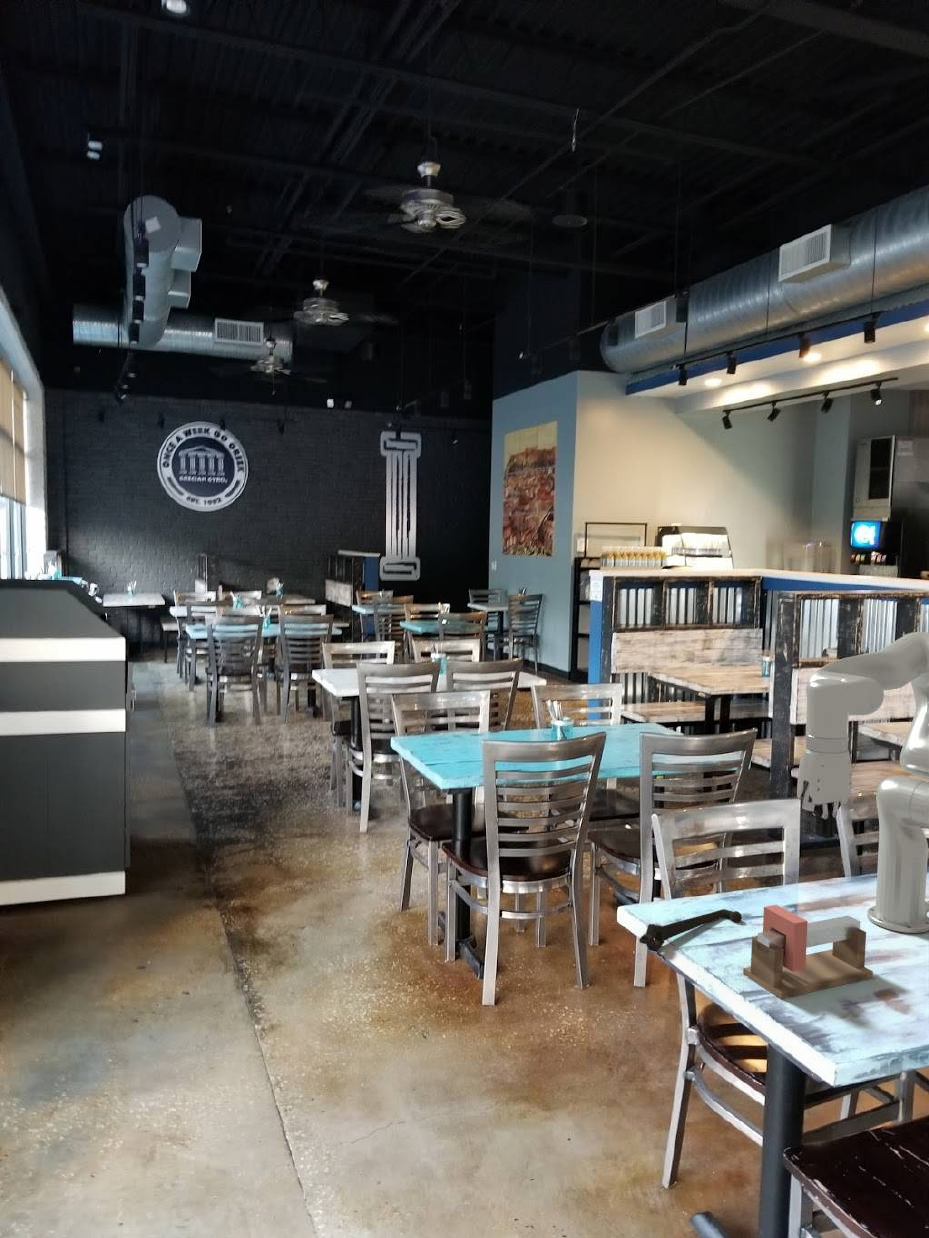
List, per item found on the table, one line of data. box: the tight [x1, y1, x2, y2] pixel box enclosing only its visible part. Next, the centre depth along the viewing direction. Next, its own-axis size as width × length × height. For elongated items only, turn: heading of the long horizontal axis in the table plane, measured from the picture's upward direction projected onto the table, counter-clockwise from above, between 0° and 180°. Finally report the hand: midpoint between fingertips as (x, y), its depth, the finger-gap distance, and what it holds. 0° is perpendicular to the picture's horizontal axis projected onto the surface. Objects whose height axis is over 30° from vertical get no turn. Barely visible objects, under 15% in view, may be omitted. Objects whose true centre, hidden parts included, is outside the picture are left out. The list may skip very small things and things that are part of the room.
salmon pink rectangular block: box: [762, 904, 809, 972], centre depth 168 cm, size 3×8×9 cm, turn 23°
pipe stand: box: [742, 928, 874, 1000], centre depth 170 cm, size 22×10×8 cm, turn 113°
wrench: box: [638, 908, 743, 952], centre depth 187 cm, size 5×5×30 cm
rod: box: [757, 915, 861, 953], centre depth 170 cm, size 22×3×3 cm, turn 113°
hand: (824, 835), depth 176 cm, fingers closed
